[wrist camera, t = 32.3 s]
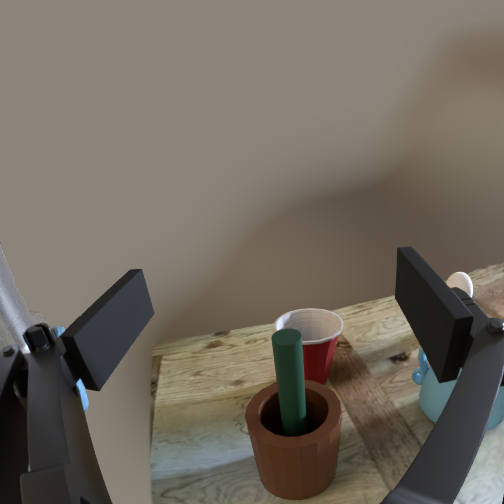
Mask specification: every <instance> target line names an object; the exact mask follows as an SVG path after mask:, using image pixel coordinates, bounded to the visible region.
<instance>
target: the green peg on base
mask: <svg viewBox="0 0 504 504" xmlns="http://www.w3.org/2000/svg"><path fill="white" fill-rule="evenodd" d="M272 346H273V354H274V362H275V370H276V378H277V386H278V394H279V402H280V411H281V419H282V427H283V435H284V437H299V436H302V435H306V434H307V431H306V405H305V383H304V364H303V347H302V334H301V333H300V331H298V330H296V329H292V328H285V329H281V330H278V331H276V332H275V333H274V334H273V335H272Z"/></svg>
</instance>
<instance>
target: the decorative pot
mask: <svg viewBox="0 0 504 504" xmlns="http://www.w3.org/2000/svg"><path fill="white" fill-rule="evenodd" d="M418 358H419V365H420V367H419V368H416V369H415V370H414V371H413V372H412V380H413V381H414V382H415V383H416V384H418V385H422V386H421V390H420V394H419V403H420V406H421V408H422V410H423V412H424V414H425V415H426V416H427V417H428V418H429V419H430V420H431V421H433V422H434V423H436V422H437V420H438V418H439V417H440V415H441V413H442V411H443V409H444V407H445V405H446V403H447V401H448V399H449V397H450V395H451V393H452V391H453V389H454V386H455V384H456V382H457V380H458V378H459V375H460V373H461V371H462V368H460V371H459V375H458V378H457V380H453V381H449V382H445V383H440V384H439V382H438V380H437V378H436V376H435V374H434V372H433V370H432V368H431V366H430V367H429V369H428V365H427V359H426V355H425V353H424V351H423V349H422V347H421V348H420V350H419V355H418ZM418 373H420V374H421V375H419V374H418ZM503 419H504V386H500V388H499V392H498V395H497V398H496V402H495V405H494V408H493V411H492V414H491V417H490V420H489V423H488V426H487V429H486V431H488V430H490V429H492V428H494V427H496V426H497V425H498V424H499V423H500V422H501V421H502V420H503Z"/></svg>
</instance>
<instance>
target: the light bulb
mask: <svg viewBox="0 0 504 504" xmlns="http://www.w3.org/2000/svg"><path fill="white" fill-rule="evenodd" d="M446 284H447V285H448V286H449V287H450V288H452V287H458V288H460V289H462V290H463V291H465V292H466V293H467V294H468V295H469V296H470V297H471V298H472V293H473V286H472V282H471V280H470V278H469V276H468V275H467V274H465V273H463V272H456V273H454V274H452V275H451V276H450V277H449V278H448V280H447V282H446Z"/></svg>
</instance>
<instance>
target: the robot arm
mask: <svg viewBox="0 0 504 504" xmlns="http://www.w3.org/2000/svg"><path fill="white" fill-rule="evenodd" d="M395 299H396V301H397V302H398V304H399V306H400V308H401V310H402V311H403V313H404V315H405V317H406V319H407V321H408V323H409V324H410V326H411V328H412V330H413V332H414V334H415V336H416V338H417V340H418V342H419V344H420V345H421V347H422V349H423V351H424V353H425V355H426V357H427V359H428V361H429V364H430V366H431V368H432V370H433V372H434V374H435V376H436V378H437V380H438V382H439V384H440V383H445V382H449V381H453V380H457V378H458V375H459V371H460V368H462V371H461V373H460V375H459V378H458V380H457V382H456V384H455V386H454V389H453V391H452V393H451V395H450V397H449V399H448V401H447V403H446V405H445V407H444V409H443V411H442V413H441V415H440V417H439V418H438V420H437V422H436V424H435V426H434V428H433V429H432V431H431V433H430V435H429V436H428V438H427V440H426V442H425V443H424V445H423V447H422V448H421V450H420V451H419V453H418V455H417V456H416V458H415V459H414V461H413V462H412V464H411V466H410V467H409V469H408V470H407V472H406V473H405V474H404V476H403V477H402V479H401V480H400V482H399V483H398V484H397V486H396V487H395V488H394V489H393V490H392V491H390V492H389V493H388V495H387V496H386V497H385V498H384V499H383V501H382V502H381V503H380V504H453V502H454V500H455V498H456V496H457V495H458V493H459V491H460V489H461V487H462V485H463V483H464V481H465V479H466V477H467V474H468V472H469V470H470V468H471V466H472V463H473V461H474V459H475V457H476V454H477V452H478V449H479V447H480V444H481V442H482V439H483V437H484V434H485V431H486V429H487V426H488V423H489V420H490V417H491V414H492V411H493V408H494V405H495V402H496V398H497V395H498V392H499V388H500V386H504V320H501V319H498V318H489V317H488V316H487V315H486V314H485V313H484V311H483V310H482V309H481V308H480V307H479V306H478V305H477V304H476V302H475V301H474V300H473V299H471V297H470V296H469V295H468V294H467V293H466V292H465V291H463V290H462V289H460V288H458V287H452V288H450V287H449V286H448V285H447V284H446V283H445V282H444V281H443V279H442V278H441V277H440V276H439V275H438V274H437V273H436V272H435V271H434V270H433V269H432V268H431V266H430V265H429V264H428V263H427V262H426V261H425V260H424V259H423V258H422V257H421V256H420V255H419V254H418V253H417V252H416V251H415V250H414V249H413V248H412V247H401V248H397V272H396V291H395ZM153 315H154V310H153V307H152V303H151V300H150V296H149V293H148V289H147V286H146V282H145V279H144V275H143V271H142V269H132V270H129V271H128V272H127V273H126V274H125V275H124V276H123V277H122V278H121V279H119V280H118V281H117V282H116V283H115V284H114V285H113V286H112V287H110V289H108V290H107V291H106V292H105V293H104V294H103V295H102V296H101V297H100V298H99V299H98V300H97V301H96V302H94V303H93V304H92V305H91V306H90V307H89V308H88V309H87V310H86V311H85V312H84V313H83V314H82V315H81V316H79V317H78V318H77V319H76V320H75V321H74V322H73V323H72V324H71V325H70V326H69V327H68V328H67V329H66V330H65V329H64V328H63V327H61V326H60V327H56V326H55V327H53V328H52V329H51V328H50V326H49V324H48V322H47V320H46V319H45V318H44V317H43V316H42V315H41V314H39V313H37V312H35V311H32V310H28V308H27V306H26V304H25V302H24V300H23V298H22V295H21V293H20V291H19V289H18V286H17V284H16V282H15V279H14V278H13V275H12V272H11V270H10V267H9V265H8V262H7V260H6V257H5V254H4V252H3V249H2V246H1V243H0V504H112V502H111V499H110V496H109V494H108V491H107V488H106V486H105V482H104V480H103V477H102V474H101V471H100V468H99V464H98V461H97V458H96V455H95V451H94V448H93V444H92V441H91V437H90V434H89V429H88V426H87V422H86V417H85V413H84V412H85V411H86V410H87V408H88V398H87V394H86V391H85V388H86V389H89V390H94V391H100V390H101V388H102V387H103V385H104V384H105V382H106V381H107V380H108V378H109V377H110V375H111V374H112V372H113V371H114V369H115V368H116V367H117V365H118V364H119V362H120V361H121V359H122V358H123V356H124V355H125V354H126V352H127V351H128V350H129V348H130V347H131V345H132V344H133V343H134V341H135V340H136V338H137V337H138V336H139V334H140V333H141V331H142V330H143V329H144V327H145V326H146V324H147V323H148V321H149V320H150V319H151V318H152V316H153ZM84 386H85V388H84ZM502 504H504V495H503V502H502Z"/></svg>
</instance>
